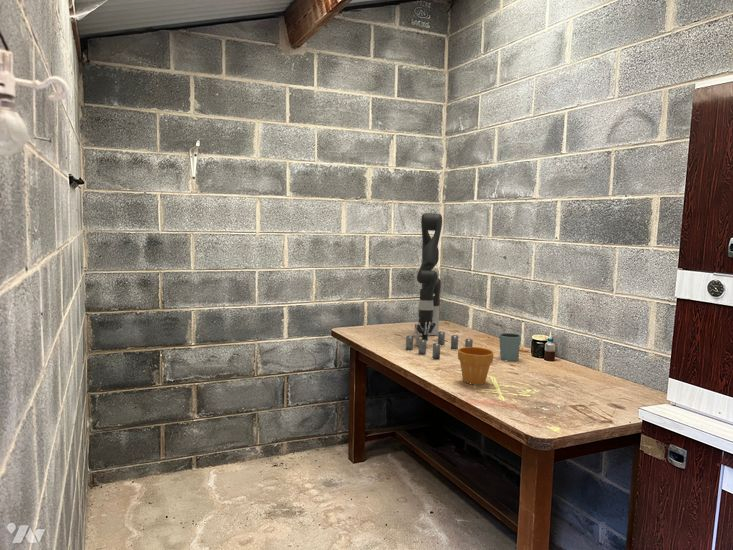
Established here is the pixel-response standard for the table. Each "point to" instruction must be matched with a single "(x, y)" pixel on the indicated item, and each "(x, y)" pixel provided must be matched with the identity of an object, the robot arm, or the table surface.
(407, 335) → the pipe connector
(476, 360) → the flower pot
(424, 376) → the table surface
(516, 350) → the grey-blue tapered bin
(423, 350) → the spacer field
